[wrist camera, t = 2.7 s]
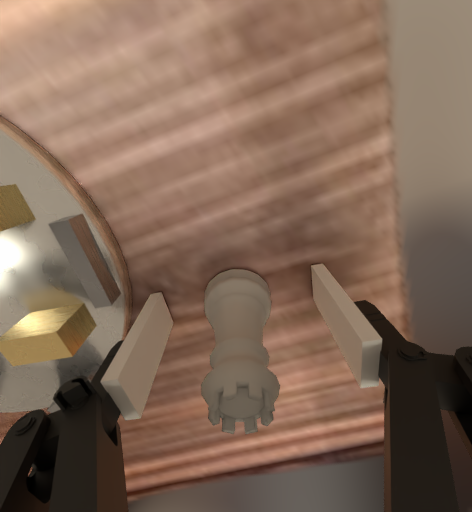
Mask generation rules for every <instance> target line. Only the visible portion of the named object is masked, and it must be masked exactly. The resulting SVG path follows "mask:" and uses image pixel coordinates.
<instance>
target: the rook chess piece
mask: <svg viewBox="0 0 472 512" xmlns="http://www.w3.org/2000/svg"><path fill="white" fill-rule="evenodd" d="M270 295H271V293H270V291H269V288H268V285H267V283H266V282H265V281H264V280H263V279H262V278H261V277H260V276H259V275H258V274H255V273H253V272H251V271H248V270H242V269H231V270H228V271H225V272H222V273H219V274H218V275H217V276H216V277H214V278H213V279H212V280H211V281H210V282H209V284H208V286H207V288H206V290H205V299H204V311H205V315H206V317H207V319H208V321H209V322H210V324H211V326H212V327H213V329H214V333H215V348H214V349H213V351H212V353H211V355H210V365H211V366H212V368H213V370H211V371H210V372H209V373H208V374H207V376H206V377H205V379H204V381H203V382H202V384H201V394H202V396H203V398H204V399H205V401H206V402H207V404H208V405H209V407H208V410H209V416H208V419H209V420H210V422H211V423H212V425H213V426H214V425H216V424H219V423H220V418H222V431H223V432H227V433H231V434H234V431H235V422H244V424H245V433H246V434H249V433H253V432H258V431H257V420H256V419H258V418H260V417H261V424H263V425H265V426H268V425H269V424H270V423H271V421H272V420H273V414H272V411H275V409H274V402H275V401H276V399H277V397H278V395H279V389H280V384H279V382H278V379H277V377H276V375H274V374H273V373H272V372H271V371H270V370H268V369H267V368H266V367H267V366H268V363H269V355H268V352H267V350H266V348H265V347H264V346H263V341H262V338H263V327H264V325H265V324H266V321H267V319H268V318H269V316H270V310H271V303H272V302H271V299H270Z"/></svg>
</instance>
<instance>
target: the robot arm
mask: <svg viewBox="0 0 472 512" xmlns="http://www.w3.org/2000/svg"><path fill="white" fill-rule="evenodd" d="M311 273H312V287H313V300H314V302H315V304H316V306H317V308H318V309H319V311H320V313H321V315H322V317H323V319H324V321H325V322H326V324H327V326H328V328H329V330H330V332H331V334H332V336H333V337H334V339H335V341H336V343H337V345H338V347H339V349H340V351H341V352H342V354H343V356H344V358H345V360H346V362H347V364H348V366H349V367H350V369H351V371H352V373H353V375H354V377H355V379H356V381H357V382H358V384H359V386H360V388H366V387H373V386H378V384H379V377H380V379H381V380H382V382H383V384H384V385H385V391H384V401H383V403H384V512H459V507H458V502H457V496H456V491H455V486H454V480H453V475H452V469H451V464H450V459H449V453H448V448H447V443H446V437H445V432H444V427H443V421H442V416H441V411H440V409H442V410H447V411H448V413H449V415H450V417H451V419H452V421H453V423H454V425H455V427H456V429H457V431H458V433H459V435H460V437H461V439H462V441H463V443H464V445H465V447H466V449H467V451H468V453H469V455H470V457H471V459H472V347H461V348H459V349H457V350H456V353H455V356H453V355H444V354H443V355H442V354H434V353H429V352H427V351H425V350H424V349H423V348H422V347H420V346H418V345H417V344H414V343H411V342H408V341H406V340H405V338H404V337H403V336H402V335H401V334H400V333H399V332H398V331H397V330H396V329H395V327H394V326H393V325H392V324H391V323H390V322H389V321H388V320H386V318H385V316H384V315H383V314H381V312H380V311H379V310H378V309H377V308H376V307H375V305H373V304H371V303H369V302H368V301H366V300H363V301H357V302H353V301H352V300H351V299H350V297H349V296H348V295H347V294H346V292H345V291H344V290H343V288H342V287H341V286H340V285H339V283H338V282H337V281H336V280H335V278H334V277H333V276H332V275H331V273H330V272H329V271H328V269H327V268H326V267H325V266H324V264H323V263H322V264H317V265H311ZM173 324H174V323H173V320H172V318H171V315H170V313H169V310H168V308H167V305H166V302H165V300H164V297H163V295H162V292H159V293H153V294H150V296H149V298H148V300H147V301H146V303H145V305H144V307H143V308H142V310H141V312H140V314H139V315H138V317H137V319H136V321H135V322H134V324H133V326H132V327H131V329H130V331H129V333H128V334H127V336H126V338H125V340H122V341H118V342H117V343H116V344H115V345H114V346H113V347H112V348H111V350H110V351H109V353H108V354H107V356H106V358H105V359H104V361H103V363H102V365H101V366H100V367H99V369H98V371H97V372H96V374H95V376H94V377H93V379H92V380H91V382H90V381H89V380H88V378H87V377H86V376H77V377H74V378H72V379H70V380H69V381H67V382H65V383H64V384H63V385H62V386H61V387H60V388H59V389H58V390H57V391H56V393H55V394H54V397H53V400H54V401H55V403H56V404H57V405H58V406H59V408H60V410H58V411H56V412H53V413H51V414H49V415H46V413H45V412H44V411H43V410H40V409H38V410H34V411H31V412H29V413H28V414H26V415H24V416H23V417H22V418H20V419H19V420H18V421H17V422H16V423H15V424H14V425H13V426H12V427H11V428H10V430H9V431H8V432H7V434H6V436H5V438H4V439H3V441H2V443H1V444H0V512H128V502H127V492H126V483H125V473H124V463H123V453H122V443H121V433H120V426H119V424H118V422H117V420H118V418H119V415H120V413H121V414H122V416H123V417H124V419H125V420H133V419H140V418H141V416H142V413H143V411H144V408H145V405H146V402H147V399H148V396H149V393H150V390H151V387H152V384H153V382H154V379H155V376H156V373H157V370H158V367H159V364H160V361H161V358H162V356H163V353H164V350H165V347H166V344H167V341H168V338H169V335H170V332H171V329H172V327H173ZM31 467H32V468H33V469H32V471H31V473H30V475H29V477H28V473H29V471H30V468H31Z"/></svg>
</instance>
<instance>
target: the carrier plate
mask: <svg viewBox="0 0 472 512" xmlns="http://www.w3.org/2000/svg"><path fill="white" fill-rule="evenodd" d="M131 313H132V293H131V284H130V280H129V275H128V271H127V267H126V264H125V261H124V258H123V256H122V253H121V250H120V248H119V245H118V243H117V241H116V239H115V237H114V235H113V233H112V232H111V230H110V228H109V226H108V224H107V222H106V221H105V219H104V218H103V216H102V215H101V213H100V212H99V210H98V209H97V207H96V206H95V204H94V203H93V201H92V200H91V198H90V197H89V196H88V195H87V194H86V192H85V191H84V190H83V189H82V188H81V186H80V185H79V184H78V183H77V182H76V180H75V179H74V178H73V177H72V176H71V175H70V174H69V173H68V172H67V171H66V170H65V169H64V168H63V167H62V166H61V165H60V164H59V163H58V162H57V161H56V160H55V159H54V158H53V157H52V156H51V155H50V154H49V153H48V152H47V151H46V150H45V149H43V148H42V147H41V146H40V145H39V144H37V143H36V142H35V141H34V140H32V139H31V138H30V137H29V136H28V135H26V134H25V133H24V132H23V131H21V130H20V129H19V128H18V127H16V126H15V125H13V124H12V123H10V122H9V121H7V120H6V119H4V118H3V117H1V116H0V412H22V411H32V410H37V409H42V408H47V407H49V408H48V409H47V411H49V412H51V413H53V412H56V411H58V410H60V408H59V406H58V405H57V404H56V403H55V401H54V400H53V397H54V394H55V393H56V391H57V390H58V389H59V388H60V387H61V386H62V385H63V384H64V383H65V382H67V381H69V380H70V379H72V378H74V377H77V376H86V377H87V378H88V380H89V381H90V382H91V380H92V379H93V377H94V376H95V374H96V372H97V371H98V369H99V367H100V366H101V365H102V363H103V361H104V359H105V358H106V356H107V354H108V353H109V351H110V350H111V348H112V347H113V346H114V345H115V344H116V343H117V342H118V341H122V340H125V338H126V336H127V333H128V329H129V326H130V322H131Z"/></svg>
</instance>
